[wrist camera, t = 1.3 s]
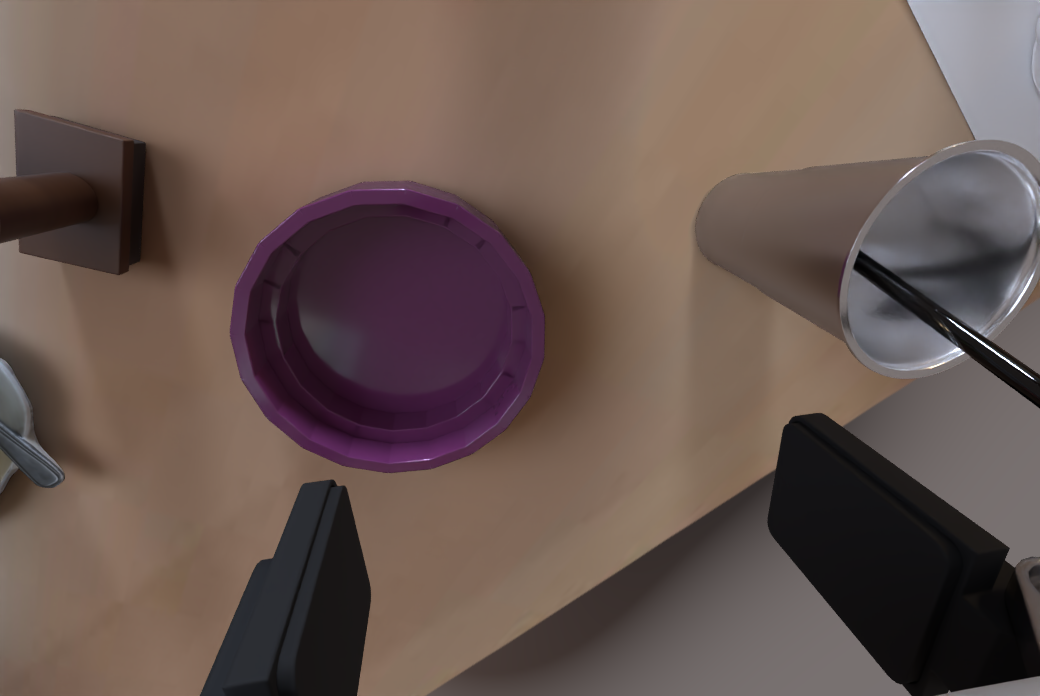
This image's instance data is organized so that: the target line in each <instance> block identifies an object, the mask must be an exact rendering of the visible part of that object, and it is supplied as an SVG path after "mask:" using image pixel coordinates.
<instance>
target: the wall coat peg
mask: <svg viewBox="0 0 1040 696" xmlns="http://www.w3.org/2000/svg"><path fill="white" fill-rule="evenodd" d="M14 118H15V146H16V175H17V176H16V177H6V178H0V243H4V242H8V241H12V240H16V239H19V252H20V253H24V254H28V255H32V256H37V257H41V258H46V259H50V260H55V261H59V262H63V263H68V264H72V265H77V266H81V267H85V268H90V269H94V270H99V271H103V272H107V273H112V274H116V275H121V274H123V273H125V272H128V271H129V266H130V265H132V264H135V263H137V262H139V261H140V252H141V231H142V211H143V190H144V170H145V150H146V143H145V142H142V141H138V140H135V139H131V138H128V137H124V136H121V135H118V134H114V133H111V132H107V131H104V130H100V129H97V128H93V127H90V126H86V125H83V124H79V123H76V122H72V121H69V120H65V119H62V118H58V117H55V116H48V115H45V114H41V113H38V112H34V111H31V110H19V109H15V110H14Z"/></svg>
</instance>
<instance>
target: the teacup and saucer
mask: <svg viewBox="0 0 1040 696" xmlns="http://www.w3.org/2000/svg"><path fill="white" fill-rule="evenodd" d="M1031 75H1032V79H1033V83H1034V85H1035V87H1036V89H1037V91H1038V92H1039V93H1040V14H1039V15H1038V17H1037V20H1036V24H1035V41H1034V44H1033V49H1032V54H1031Z"/></svg>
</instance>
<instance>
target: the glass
mask: <svg viewBox="0 0 1040 696" xmlns="http://www.w3.org/2000/svg"><path fill="white" fill-rule="evenodd" d="M695 235H696V240H697V244H698V247H699V249H700V251H701V252H702V254H703V255H704V256H705V257H706V258H707V259H708V260H709V261H710V262H712V263H713V264H715V265H717V266H720V267H721V268H723V269H725V270H726V271H728V272H730V273H732V274H733V275H735V276H737V277H739V278H740V279H742V280H744V281H746V282H747V283H749V284H751V285H752V286H754V287H756V288H757V289H758V290H759V291H761V292H762V293H763V294H765V295H766V296H768V297H770V298H771V299H773V300H775V301H776V302H778V303H780V304H781V305H783V306H785V307H786V308H788V309H790V310H791V311H793V312H795V313H796V314H798V315H800V316H801V317H803V318H805V319H806V320H808V321H810V322H811V323H813V324H815V325H816V326H818V327H820V328H821V329H823V330H825V331H826V332H828V333H830V334H831V335H833V336H835V337H836V338H838V339H839V340H841V341H843V342H844V343H845V344H846V346H847V347H848V349H849V350H850V352H851V353H852V355H853V356H854V357H855V358H856V359H857V360H858V361H859V362H860V363H861V364H863V365H864V366H865V367H867V368H869V369H870V370H872V371H874V372H876V373H878V374H881V375H884V376H887V377H892V378H899V379H914V378H921V377H927V376H931V375H934V374H938V373H940V372H943V371H946V370H948V369H950V368H952V367H955V366H957V365H958V364H960V363H962V362H964V361H966V360H967V359H969V358H970V357H971V358H973V359H974V360H975V361H977V362H978V363H980V364H981V365H982V366H983V367H985V368H986V369H988V370H989V371H990V372H992V373H993V374H994V375H996V376H997V377H998V378H1000V379H1001V380H1002V381H1004V382H1005V383H1006V384H1008V385H1009V386H1010V387H1012V388H1013V389H1015V390H1016V391H1017V392H1018V393H1020V394H1021V395H1022V396H1024V397H1025V398H1026V399H1028V400H1029V401H1031V402H1032V403H1033V404H1035V405H1036V406H1037V407H1039V408H1040V375H1039V374H1038V373H1036V372H1035V371H1033V370H1032V369H1030V368H1029V367H1027V366H1026V365H1025V364H1023V363H1022V362H1020V361H1019V360H1017V359H1016V358H1014V357H1013V356H1012V355H1010V354H1009V353H1007V352H1006V351H1005V350H1003V349H1002V348H1000V347H999V346H997V345H996V344H995V343H993V342H992V341H993V339H995V338H996V337H997V336H998V335H999V334H1000V333H1001V332H1002V331H1003V330H1004V329H1005V328H1006V327H1007V326H1008V324H1009V323H1010V322H1011V321H1012V320H1013V319H1014V317H1015V316H1016V315H1017V314H1018V312H1019V311H1020V310H1021V308H1022V307H1023V305H1024V304H1025V303H1026V301H1027V299H1028V298H1029V296H1030V295H1031V293H1032V291H1033V290H1034V288H1035V286H1036V284H1037V282H1038V280H1039V278H1040V162H1039V161H1038V160H1037V159H1036V158H1035V157H1034V156H1033V155H1032V154H1031V153H1030V152H1028V151H1027V150H1025V149H1024V148H1022V147H1020V146H1018V145H1016V144H1013V143H1010V142H1006V141H1001V140H973V141H967V142H962V143H958V144H955V145H952V146H949V147H947V148H944V149H942V150H940V151H938V152H936V153H934V154H932V155H930V156H922V157H911V158H901V159H890V160H880V161H869V162H858V163H847V164H836V165H825V166H814V167H808V168H804V169H798V170H785V171H772V172H758V173H740V174H735V175H732V176H730V177H728V178H726V179H724V180H722V181H721V182H719V183H718V184H717V185H716V186H715V187H713V188H712V190H711V191H710V192H709V193H708V194H707V196H706V197H705V199H704V200H703V202H702V204H701V206H700V208H699V211H698V214H697V218H696V224H695Z"/></svg>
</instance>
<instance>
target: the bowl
mask: <svg viewBox="0 0 1040 696" xmlns="http://www.w3.org/2000/svg"><path fill="white" fill-rule="evenodd" d="M230 337H231V341H232V345H233V349H234V353H235V357H236V361H237V365H238V369H239V373H240V377H241V379H242V381H243V383H244V384H245V386H246V388H247V389H248V391H249V392H250V394H251V395H252V397H253V398H254V400H255V401H256V403H257V404H258V406H259V407H260V409H261V410H262V412H263V414H264V415H265V417H266V418H267V419H268V420H269V421H271V422H272V423H273V424H274V425H275V426H277V427H278V428H279V429H280V430H281V431H283V432H284V433H285V434H286V435H287V436H289V437H290V438H291V439H292V440H294V441H295V442H296V443H297V444H298V445H300V446H301V447H303V448H304V449H306V450H308V451H310V452H313V453H315V454H317V455H319V456H322V457H324V458H326V459H328V460H331V461H333V462H335V463H338V464H340V465H342V466H346V467H352V468H358V469H365V470H371V471H377V472H383V473H388V472H389V473H396V472H406V471H417V470H428V469H431V468H432V469H433V468H436V467H439V466H442V465H444V464H447V463H450V462H452V461H455V460H458V459H461V458H463V457H466V456H469V455H471V454H473V453H474V452H476V451H477V450H479V449H480V448H481V447H483V446H484V445H485V444H487V443H488V442H490V441H491V440H492V439H494V438H495V437H497V436H498V435H499V434H501V433H502V432H503V431H505V430H506V429H507V427H508V426H509V425H510V423H511V422H512V421H513V419H514V418H515V417H516V416H517V414H518V413H519V412H520V410H521V409H522V408H523V406H524V405H525V404H526V402H527V401H528V400H529V399H530V397H531V395H532V392H533V389H534V386H535V383H536V380H537V378H538V375H539V372H540V369H541V366H542V363H543V361H544V350H545V316H544V312H543V309H542V306H541V302H540V299H539V296H538V293H537V290H536V287H535V284H534V281H533V278H532V275H531V273H530V271H529V270H528V268H527V266H526V265H525V263H524V262H523V260H522V259H521V257H520V256H519V254H518V253H517V252H516V250H515V249H514V248H513V246H512V245H511V244H510V242H509V241H508V240H507V238H506V237H505V236H504V234H503V233H502V232H501V230H500V229H499V228H498V226H497V225H496V224H495V223H494V221H492V220H491V219H490V218H489V217H487V216H486V215H484V214H483V213H481V212H480V211H478V210H477V209H476V208H474V207H473V206H471V205H470V204H468V203H467V202H466V201H464V200H463V199H461V198H460V197H458V196H457V195H455V194H452V193H449V192H445V191H442V190H439V189H436V188H432V187H429V186H426V185H423V184H419V183H416V182H413V181H411V182H410V181H376V182H363V183H362V182H360V183H358V184H355V185H352V186H350V187H347V188H344V189H341V190H339V191H336V192H333V193H330V194H328V195H325V196H322V197H320V198H318V199H316V200H314V201H312V202H310V203H308V204H307V205H305V206H303V207H301V208H299V209H297V210H296V211H295V212H294V213H293V214H292V215H290V216H289V217H288V218H287V219H286V220H284V221H283V222H282V223H281V224H280V225H279V226H277V227H276V228H275V229H274V230H273V231H271V232H270V233H269V234H268V235H267V236H266V237H264V238H263V239H262V240H261V241H260V242H259V243H258V245H257V247H256V248H255V250H254V252H253V254H252V256H251V258H250V259H249V261H248V263H247V265H246V267H245V269H244V271H243V272H242V274H241V276H240V278H239V280H238V282H237V284H236V287H235V291H234V300H233V308H232V317H231V325H230Z"/></svg>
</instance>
